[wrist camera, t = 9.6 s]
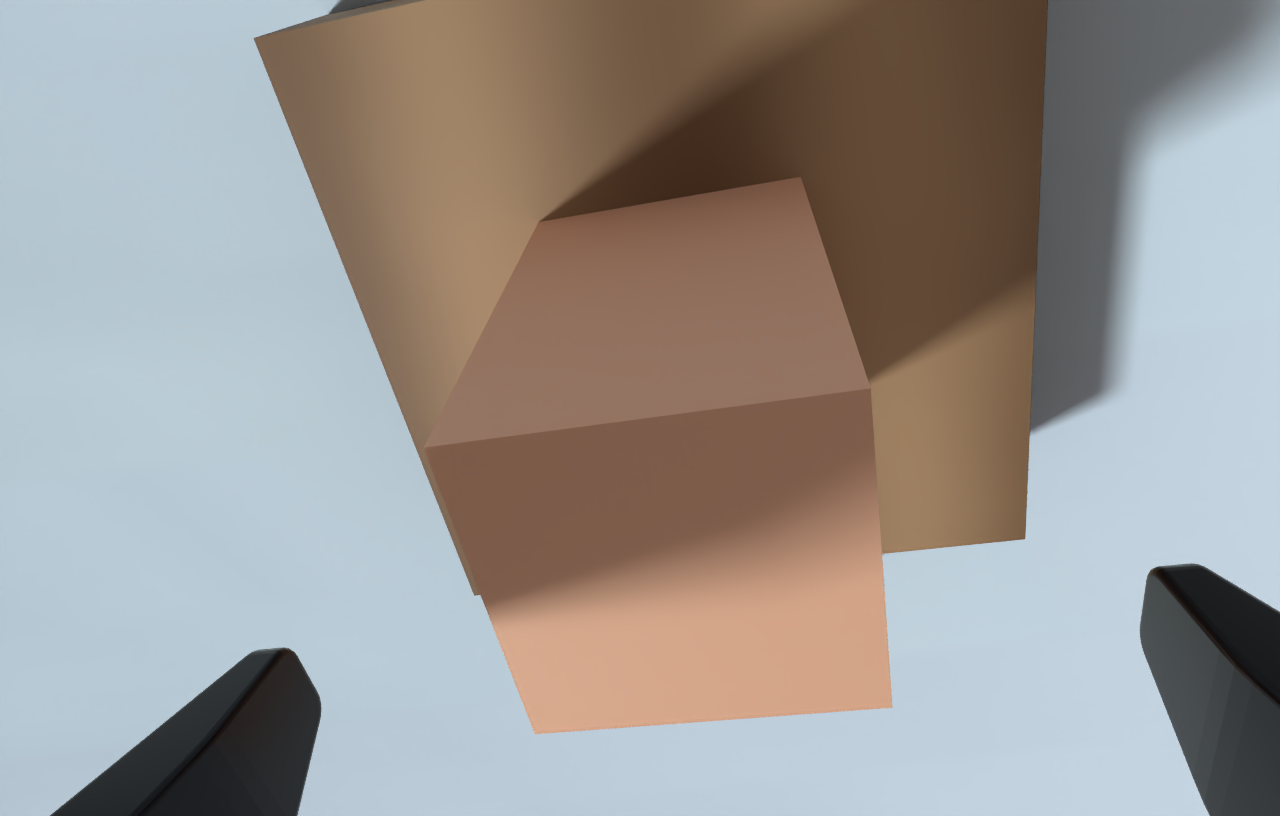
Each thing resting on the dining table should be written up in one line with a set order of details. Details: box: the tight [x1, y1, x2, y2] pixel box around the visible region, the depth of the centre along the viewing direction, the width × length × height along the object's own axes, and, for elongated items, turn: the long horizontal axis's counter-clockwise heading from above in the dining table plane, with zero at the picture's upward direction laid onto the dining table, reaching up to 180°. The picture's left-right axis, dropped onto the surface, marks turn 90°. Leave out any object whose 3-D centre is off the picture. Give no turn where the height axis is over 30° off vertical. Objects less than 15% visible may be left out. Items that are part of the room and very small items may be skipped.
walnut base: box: [254, 0, 1048, 596], centre depth 17 cm, size 12×12×3 cm
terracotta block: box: [423, 177, 892, 734], centre depth 12 cm, size 4×4×7 cm
